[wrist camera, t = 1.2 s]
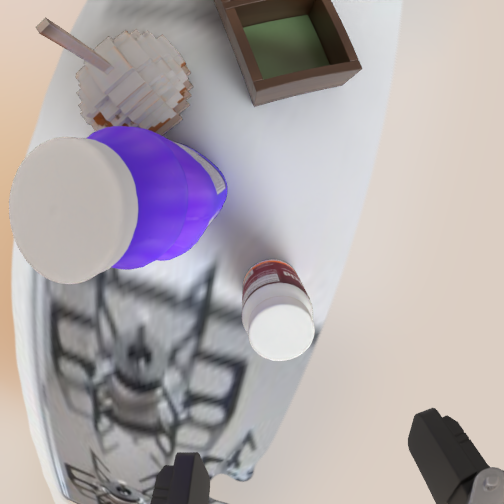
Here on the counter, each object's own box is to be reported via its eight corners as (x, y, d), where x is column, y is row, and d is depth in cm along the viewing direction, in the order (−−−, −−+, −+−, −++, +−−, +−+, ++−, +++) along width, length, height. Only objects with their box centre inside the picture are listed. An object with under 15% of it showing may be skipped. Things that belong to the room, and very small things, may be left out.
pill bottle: (308, 293, 26) (333, 343, 18) (260, 319, 27) (266, 377, 19) (282, 247, 25) (299, 283, 17) (231, 275, 26) (226, 322, 18)
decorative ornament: (90, 96, 21) (-32, 52, 7) (159, 38, 20) (85, -65, 6) (136, 160, 23) (14, 156, 8) (212, 99, 22) (169, 6, 7)
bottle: (129, 189, 24) (-36, 230, 7) (166, 130, 22) (28, 68, 6) (200, 238, 25) (122, 367, 8) (241, 180, 24) (231, 201, 7)
